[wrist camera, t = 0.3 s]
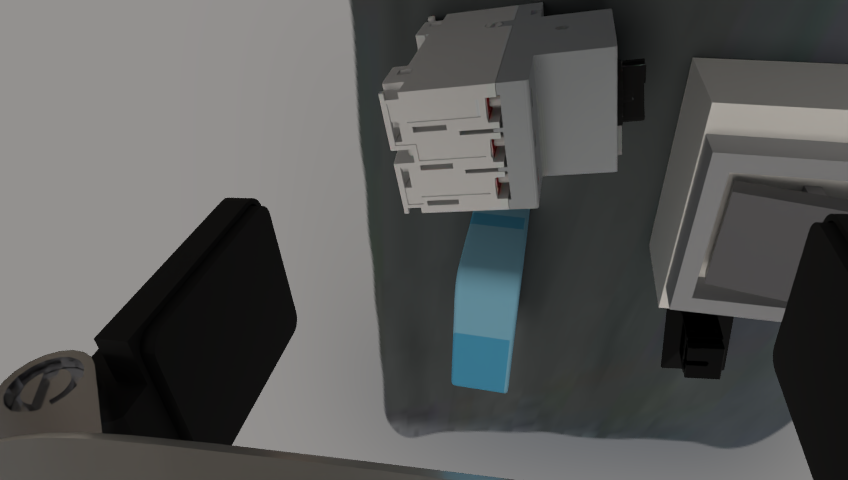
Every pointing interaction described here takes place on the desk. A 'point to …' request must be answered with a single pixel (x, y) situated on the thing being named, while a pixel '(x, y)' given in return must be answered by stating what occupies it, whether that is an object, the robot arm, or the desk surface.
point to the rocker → (765, 237)
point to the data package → (488, 299)
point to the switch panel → (743, 165)
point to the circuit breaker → (507, 106)
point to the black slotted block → (696, 343)
